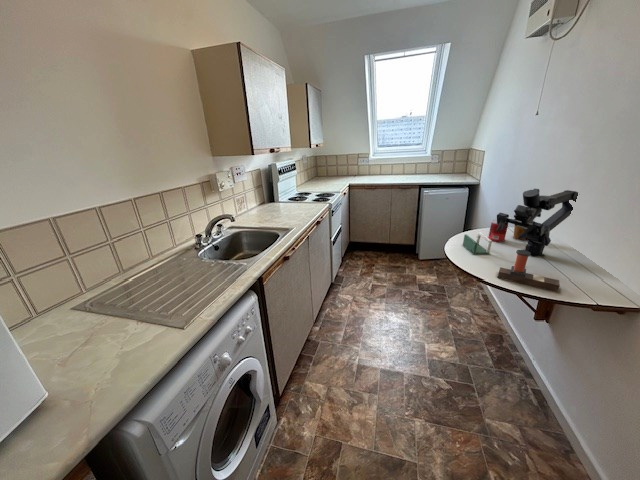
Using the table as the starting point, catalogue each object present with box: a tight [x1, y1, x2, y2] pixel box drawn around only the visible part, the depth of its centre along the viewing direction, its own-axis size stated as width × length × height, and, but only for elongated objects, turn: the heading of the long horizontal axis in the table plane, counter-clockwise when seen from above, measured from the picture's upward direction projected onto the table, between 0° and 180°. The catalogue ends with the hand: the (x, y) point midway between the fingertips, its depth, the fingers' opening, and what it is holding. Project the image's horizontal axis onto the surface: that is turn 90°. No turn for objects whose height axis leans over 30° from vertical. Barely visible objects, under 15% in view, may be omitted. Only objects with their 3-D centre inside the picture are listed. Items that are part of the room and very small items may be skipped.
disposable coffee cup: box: [513, 218, 536, 241], centre depth 151 cm, size 10×10×12 cm
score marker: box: [510, 249, 531, 278], centre depth 110 cm, size 5×6×10 cm
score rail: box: [497, 267, 561, 293], centre depth 111 cm, size 20×5×3 cm, turn 53°
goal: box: [462, 231, 493, 255], centre depth 141 cm, size 8×12×8 cm, turn 178°
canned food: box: [487, 219, 509, 243], centre depth 151 cm, size 8×8×11 cm
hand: (507, 234), depth 120 cm, fingers open, 9 cm apart
